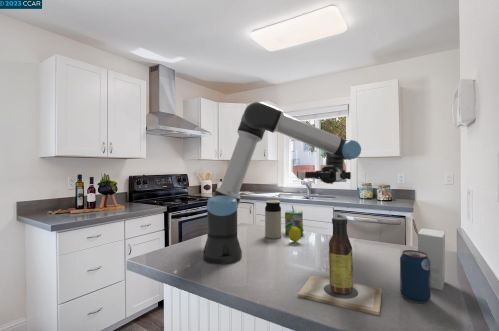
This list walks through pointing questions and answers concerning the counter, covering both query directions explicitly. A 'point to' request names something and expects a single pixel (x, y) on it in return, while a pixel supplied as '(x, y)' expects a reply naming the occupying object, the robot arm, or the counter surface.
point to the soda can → (415, 276)
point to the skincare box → (434, 254)
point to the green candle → (293, 220)
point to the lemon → (294, 232)
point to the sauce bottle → (340, 258)
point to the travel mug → (273, 219)
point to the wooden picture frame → (343, 295)
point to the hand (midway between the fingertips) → (317, 175)
